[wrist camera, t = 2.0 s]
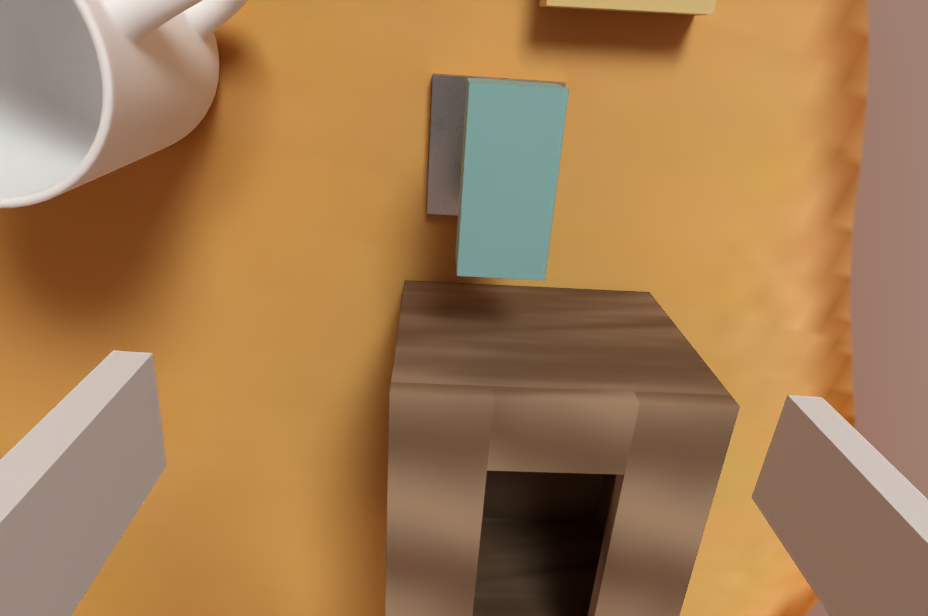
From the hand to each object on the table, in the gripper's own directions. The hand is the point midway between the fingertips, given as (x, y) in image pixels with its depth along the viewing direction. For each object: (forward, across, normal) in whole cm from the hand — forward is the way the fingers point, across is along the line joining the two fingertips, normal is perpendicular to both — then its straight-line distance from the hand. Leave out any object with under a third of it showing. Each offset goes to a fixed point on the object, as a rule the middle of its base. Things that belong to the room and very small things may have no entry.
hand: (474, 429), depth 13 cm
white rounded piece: (+20, -14, +6) cm, 25 cm away
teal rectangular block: (+14, +2, +3) cm, 14 cm away
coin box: (+20, +4, -12) cm, 23 cm away
